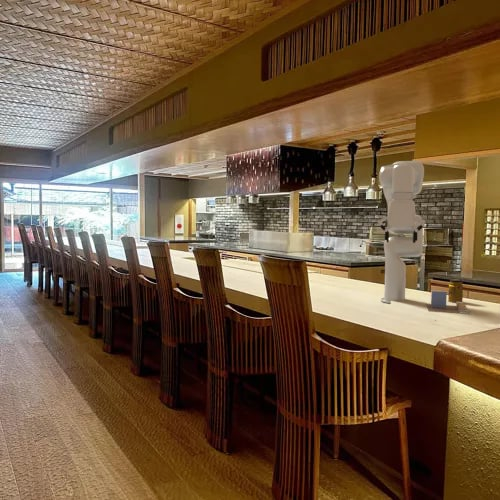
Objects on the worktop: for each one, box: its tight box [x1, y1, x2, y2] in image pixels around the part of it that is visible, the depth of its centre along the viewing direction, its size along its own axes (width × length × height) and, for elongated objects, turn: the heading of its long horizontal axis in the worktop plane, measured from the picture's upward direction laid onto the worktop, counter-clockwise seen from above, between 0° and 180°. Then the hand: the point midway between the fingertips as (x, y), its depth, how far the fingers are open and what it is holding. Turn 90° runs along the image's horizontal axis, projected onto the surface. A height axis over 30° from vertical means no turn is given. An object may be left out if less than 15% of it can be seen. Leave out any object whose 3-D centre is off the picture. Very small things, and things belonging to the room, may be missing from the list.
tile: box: [430, 290, 448, 308], centre depth 190 cm, size 2×6×7 cm, turn 73°
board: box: [424, 303, 468, 315], centre depth 187 cm, size 18×16×2 cm
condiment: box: [447, 278, 464, 304], centre depth 204 cm, size 7×8×12 cm
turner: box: [455, 301, 472, 315], centre depth 185 cm, size 17×4×2 cm, turn 163°
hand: (400, 242), depth 167 cm, fingers open, 9 cm apart
